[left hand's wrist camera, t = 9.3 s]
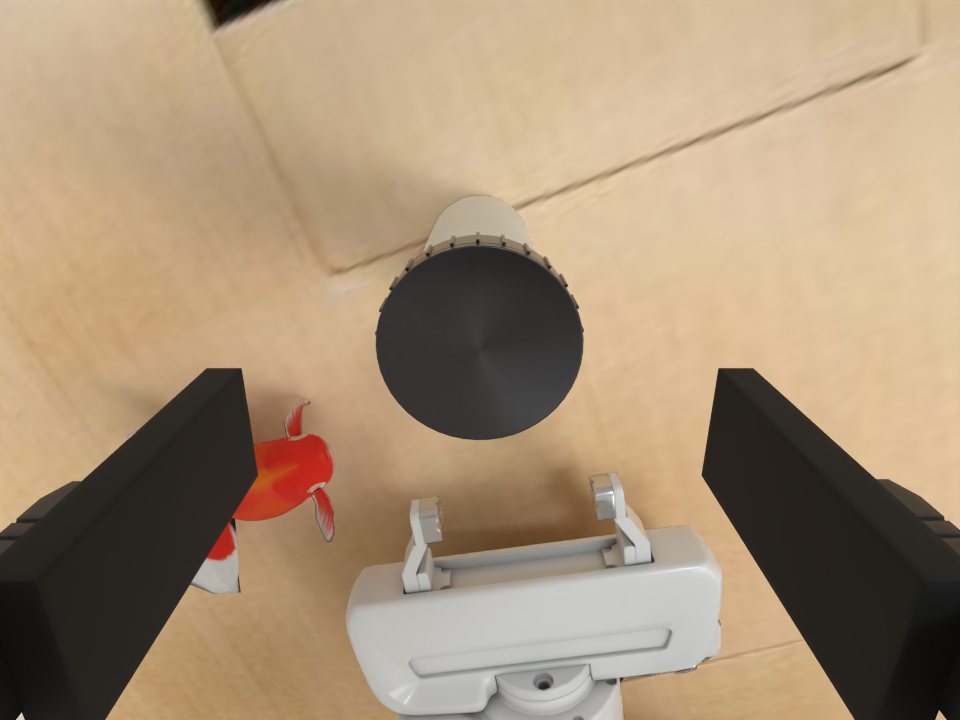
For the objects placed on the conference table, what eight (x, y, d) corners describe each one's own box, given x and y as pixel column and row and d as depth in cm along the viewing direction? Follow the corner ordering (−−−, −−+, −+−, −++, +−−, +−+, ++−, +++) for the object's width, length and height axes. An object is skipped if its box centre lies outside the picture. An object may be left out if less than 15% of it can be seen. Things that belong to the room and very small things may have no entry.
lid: (613, 350, 20) (625, 371, 18) (458, 448, 21) (456, 476, 20) (504, 189, 18) (507, 196, 16) (341, 308, 19) (329, 326, 18)
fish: (405, 573, 35) (269, 667, 26) (228, 553, 43) (78, 621, 34) (380, 391, 34) (234, 425, 26) (205, 404, 42) (47, 434, 33)
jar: (548, 257, 33) (601, 362, 19) (468, 312, 34) (460, 451, 20) (491, 174, 31) (501, 218, 17) (410, 234, 33) (354, 324, 18)
